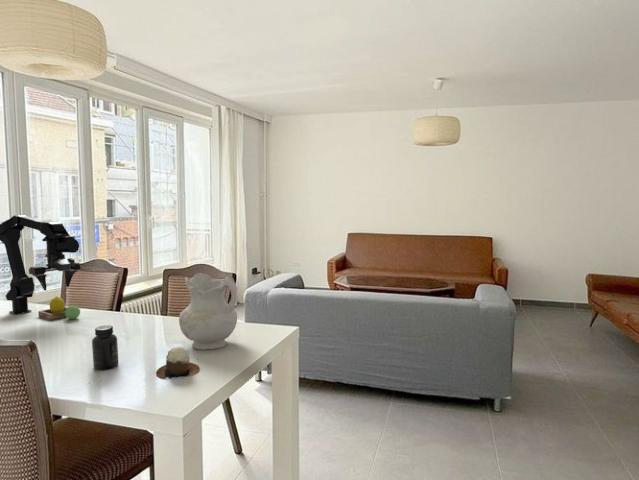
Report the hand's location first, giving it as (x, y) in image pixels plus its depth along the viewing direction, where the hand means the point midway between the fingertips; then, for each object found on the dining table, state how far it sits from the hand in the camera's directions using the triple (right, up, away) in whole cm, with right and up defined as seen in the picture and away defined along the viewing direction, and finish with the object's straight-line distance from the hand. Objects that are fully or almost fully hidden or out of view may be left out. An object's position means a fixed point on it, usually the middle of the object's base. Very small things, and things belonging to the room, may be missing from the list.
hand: (56, 288), depth 193 cm
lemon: (0, -12, +1) cm, 12 cm away
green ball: (+9, -12, -4) cm, 16 cm away
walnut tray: (0, -12, +1) cm, 12 cm away
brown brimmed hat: (+70, -18, -61) cm, 95 cm away
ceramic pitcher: (+75, -16, -36) cm, 84 cm away
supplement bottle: (+48, -17, -57) cm, 76 cm away
